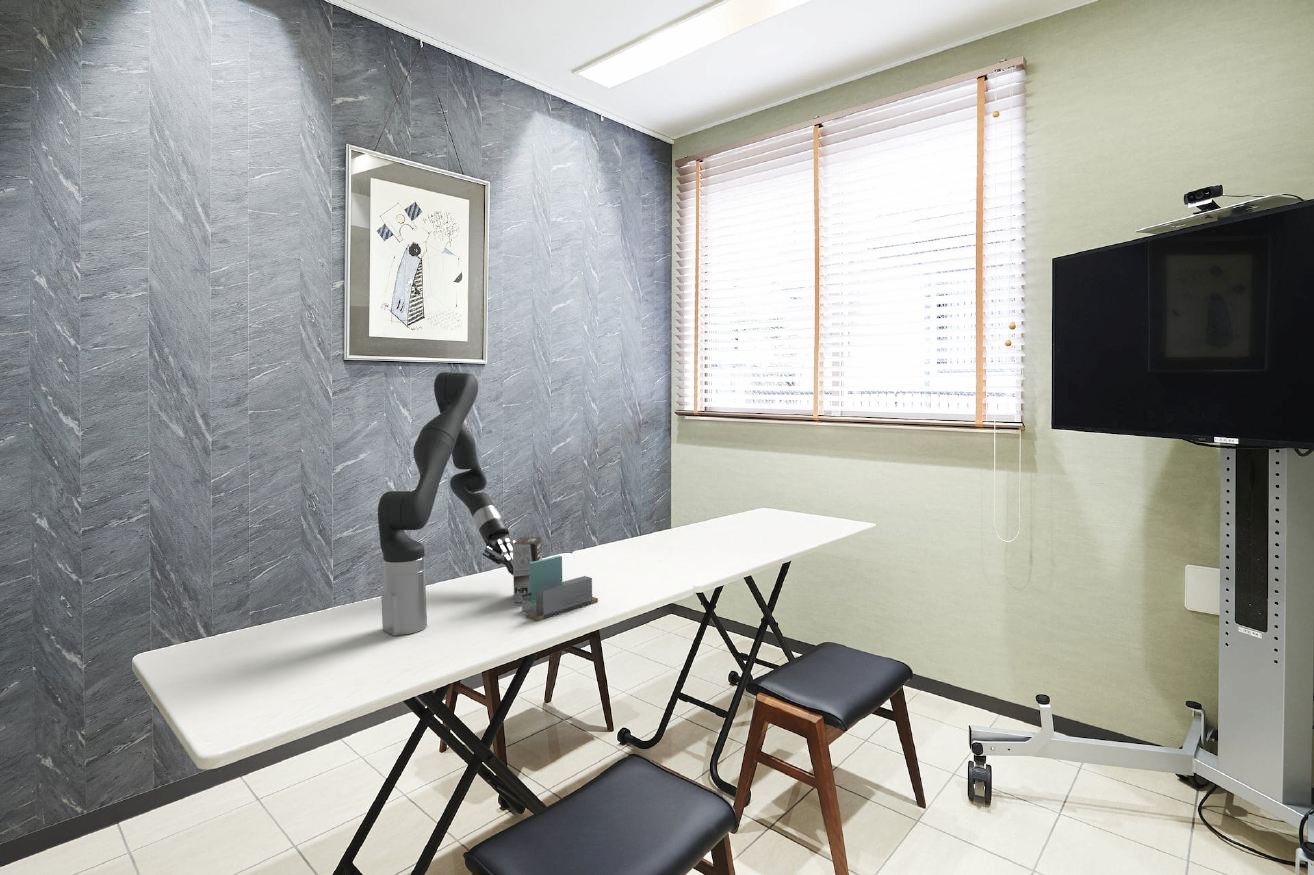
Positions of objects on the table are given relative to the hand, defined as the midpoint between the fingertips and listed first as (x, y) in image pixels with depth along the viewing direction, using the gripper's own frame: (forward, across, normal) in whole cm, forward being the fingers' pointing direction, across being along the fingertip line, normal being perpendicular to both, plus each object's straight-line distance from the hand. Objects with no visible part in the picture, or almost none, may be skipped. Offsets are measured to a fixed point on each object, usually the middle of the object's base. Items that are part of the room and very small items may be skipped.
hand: (515, 573), depth 183 cm
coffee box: (+8, 0, 0) cm, 8 cm away
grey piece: (+17, 0, -8) cm, 19 cm away
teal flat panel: (+13, -1, -7) cm, 15 cm away
